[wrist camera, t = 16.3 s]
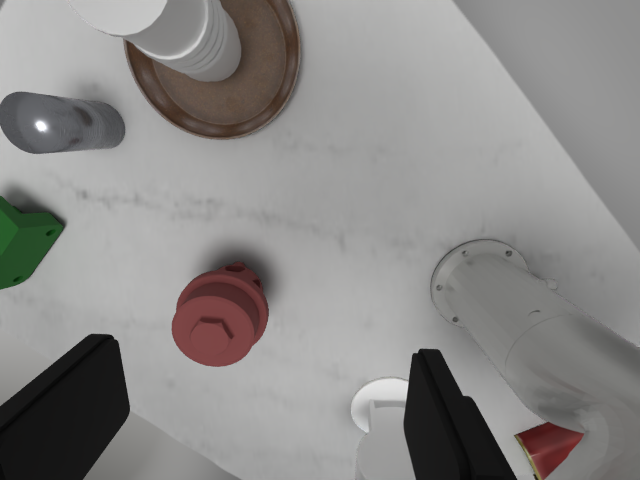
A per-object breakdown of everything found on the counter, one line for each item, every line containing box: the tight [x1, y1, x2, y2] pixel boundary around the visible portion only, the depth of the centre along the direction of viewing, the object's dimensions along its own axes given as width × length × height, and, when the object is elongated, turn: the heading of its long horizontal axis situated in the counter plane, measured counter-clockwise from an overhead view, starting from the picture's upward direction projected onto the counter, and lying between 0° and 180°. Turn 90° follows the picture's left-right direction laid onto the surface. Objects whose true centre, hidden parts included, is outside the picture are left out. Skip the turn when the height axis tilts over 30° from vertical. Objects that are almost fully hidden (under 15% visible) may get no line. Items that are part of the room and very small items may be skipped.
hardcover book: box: [514, 422, 584, 480], centre depth 51 cm, size 12×21×4 cm, turn 119°
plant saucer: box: [123, 0, 301, 140], centre depth 34 cm, size 18×18×3 cm
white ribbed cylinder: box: [67, 0, 241, 82], centre depth 25 cm, size 7×7×15 cm
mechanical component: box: [172, 262, 269, 367], centre depth 38 cm, size 12×10×10 cm
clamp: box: [0, 196, 63, 290], centre depth 39 cm, size 12×6×9 cm, turn 131°
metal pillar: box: [0, 92, 125, 154], centre depth 33 cm, size 5×5×10 cm
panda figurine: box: [351, 377, 416, 480], centre depth 43 cm, size 12×11×15 cm
